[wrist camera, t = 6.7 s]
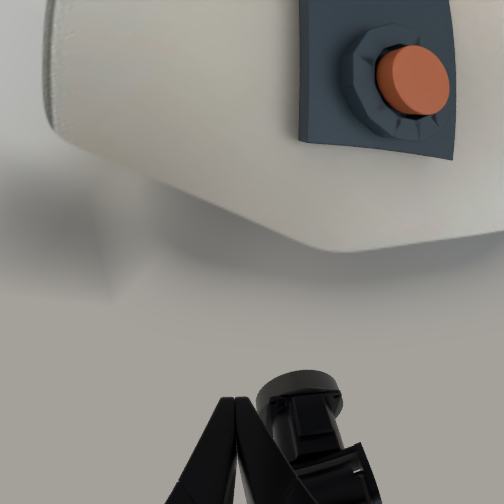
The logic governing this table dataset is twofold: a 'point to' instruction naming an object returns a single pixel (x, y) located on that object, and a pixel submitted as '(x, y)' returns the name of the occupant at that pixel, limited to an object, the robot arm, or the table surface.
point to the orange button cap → (413, 80)
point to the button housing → (371, 74)
